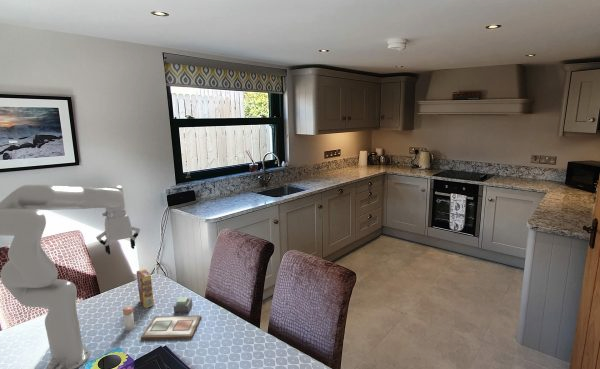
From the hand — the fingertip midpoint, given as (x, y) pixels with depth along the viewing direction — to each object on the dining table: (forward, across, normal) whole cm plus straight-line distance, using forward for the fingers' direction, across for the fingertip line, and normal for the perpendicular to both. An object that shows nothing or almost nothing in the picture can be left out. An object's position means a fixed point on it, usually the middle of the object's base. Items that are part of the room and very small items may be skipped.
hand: (121, 250), depth 155 cm
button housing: (+28, +19, -18) cm, 38 cm away
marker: (+28, -3, -18) cm, 33 cm away
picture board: (+28, +10, -29) cm, 42 cm away
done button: (+25, +19, -18) cm, 36 cm away
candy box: (+28, +8, -2) cm, 29 cm away
